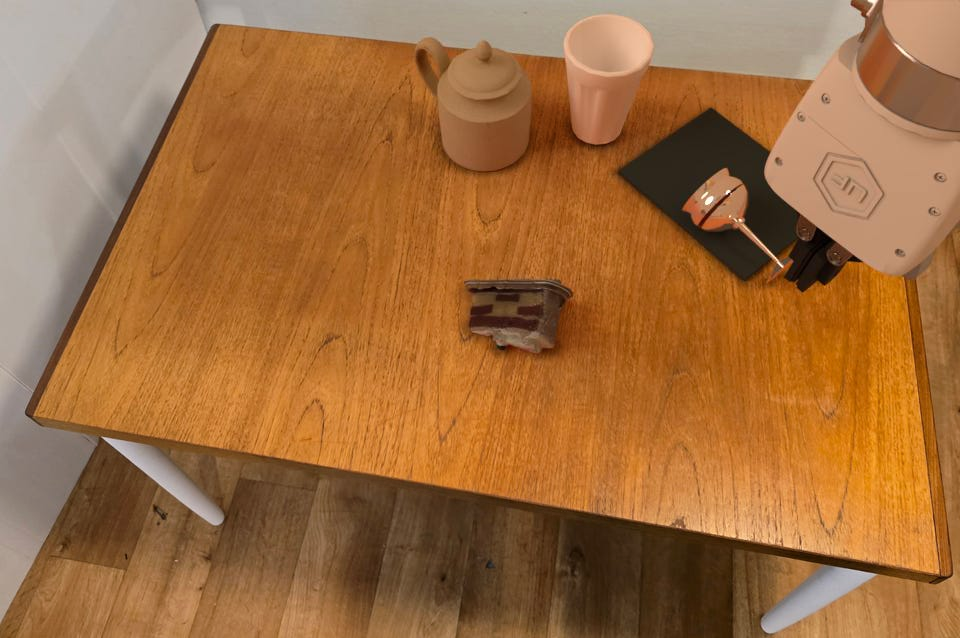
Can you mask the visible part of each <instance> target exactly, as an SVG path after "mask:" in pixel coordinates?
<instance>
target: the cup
mask: <svg viewBox="0 0 960 638" xmlns="http://www.w3.org/2000/svg"><path fill="white" fill-rule="evenodd" d="M654 43H655V42H654V40H653V36H652V34H651V33H650V32H649V31H648V30H647V29H646V28H645V27H644V26H643V25H642V24H641V23H640V22H638V21H636V20H634V19H632V18H629V17H627V16H622V15H617V14H613V13H606V14H593V15H590V16H588V17H586V18H583V19H581V20H578V21H577V22H576V23H575V24H574V25H573V26H571V27H570V28H569V29H568V30H567V32H566V34H565V37H564V40H563V57H564V61H565V66H566V67H565V68H566V78H567V89H568V99H569V100H568V101H569V111H570V112H569V113H570V121H571V123H570V124H571V129H572V132H573V134H574V135H575V136H576V138H578V139H579V140H581V141H583V142H584V143H586V144H591V145H595V146H597V145H605V144H608V143H611V142H613V141H615V140H617V138H618V137H619V136H620V135H621V133H622V129H623V127H624V124H625V123H626V119H627V117H628V114H629V112H630V109H631V107H632V104H633V102H634V99H635V96H636V94H637V91H638V89H639V86H640V83H641V81H642V78H643V77H644V75H645V73H646V72H648V69H649V66H650V64H651V61H652V58H653V55H654V52H655V47H656V46H655V44H654Z"/></svg>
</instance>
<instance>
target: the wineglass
mask: <svg viewBox="0 0 960 638" xmlns="http://www.w3.org/2000/svg"><path fill="white" fill-rule="evenodd" d="M748 205H749V193H748V191H747V188H746V186H745V185H744V183H743V182H742V181H741V180H740V179H739V178H737V177H734V176H730V173H729V170H728V168H724V169H722V170H720V171H719V172H717V173H716V174H715V175H713V176H712V177H711V178H710V179H709V180H707V181H706V182H705V183H704V184H703V185H702V186H701V187H700V188H699V189H698V190H697V191H696V192H695V193H694V194H693V195H692V196H691V197H690V199H689V200H688V201H687V202H686V204H685V205H684V207H683V209H682V212H685V213H688V214H690V216H691V220H692V222H693V223H694V224H695V225H696V226H697V227H698V228H699V229H701V230H704V231H706V232H722V231H725V230H728V229H732V228H733V230H737V229H739V230H741V231H742V232H743V233H744V234H745V235H746V236H747V237H748V238H749V239H750V240H752V241H753V242H754V243H755V244H756V245H757V246H758V247H759V248H760V249H762V250H763V251H764V252H765V253H766V254H767V255H768V256H769V257H770V258H771V259H772V261H774V263H775V266H774V267H773V269H772V271H771V273H770V275H769V276H768V278H767V280H766V282H765V284H768V283H769V282H771V281H772V280H773V279H775V278H776V277H777V276H778V275H779V274H781V272H783V271H784V270H785V269H786V268H787V267H788V266H790V265H791V264H792V263H793V260H792V259H790V258H789V257H788V256H787V257H785V258H783V259H781V260H779V259H778V258H777V256H776V257H775V256H774V255H773V254H772V253H771V251H770V250H769V249H768V248H767V247H766V246H765V245H764V244H763V243H762V242H761V241H760V240H759V239H758V238H757V237H756V235H755V234H754V233H753V232H752V231H751V230H750V229H749V228H748V227H747V226H746V225H745V224H744V223H745V221H746V220H745V218H744V216H745V213H746V211H747V208H748Z"/></svg>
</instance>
